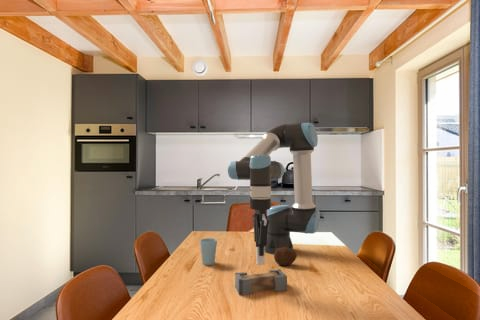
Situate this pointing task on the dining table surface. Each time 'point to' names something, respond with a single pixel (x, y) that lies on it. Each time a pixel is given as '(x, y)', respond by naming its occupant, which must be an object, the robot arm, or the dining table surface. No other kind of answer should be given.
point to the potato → (284, 256)
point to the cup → (208, 250)
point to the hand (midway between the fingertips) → (260, 263)
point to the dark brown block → (262, 281)
